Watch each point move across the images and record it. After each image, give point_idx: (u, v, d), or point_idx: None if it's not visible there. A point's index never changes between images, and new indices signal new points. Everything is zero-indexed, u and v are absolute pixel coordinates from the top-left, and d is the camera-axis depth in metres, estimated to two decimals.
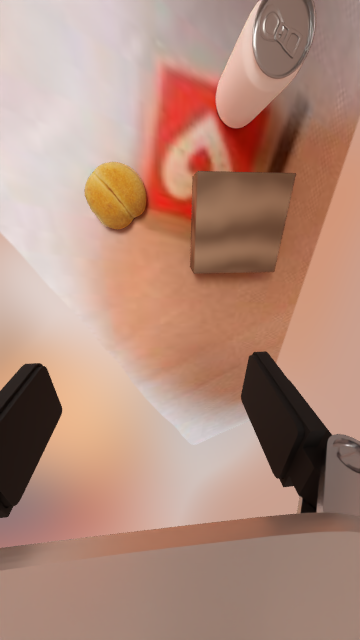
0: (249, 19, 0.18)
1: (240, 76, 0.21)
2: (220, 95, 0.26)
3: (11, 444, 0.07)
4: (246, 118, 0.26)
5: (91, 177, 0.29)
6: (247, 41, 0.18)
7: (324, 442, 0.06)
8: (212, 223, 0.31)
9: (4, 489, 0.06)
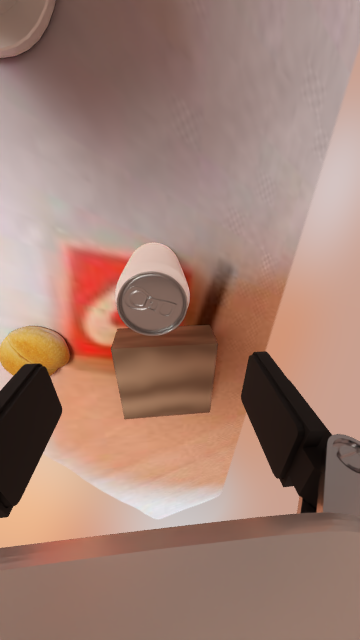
0: (117, 287, 0.17)
1: None
2: None
3: (11, 444, 0.07)
4: None
5: (3, 344, 0.28)
6: None
7: (324, 442, 0.06)
8: (136, 383, 0.29)
9: (4, 489, 0.06)
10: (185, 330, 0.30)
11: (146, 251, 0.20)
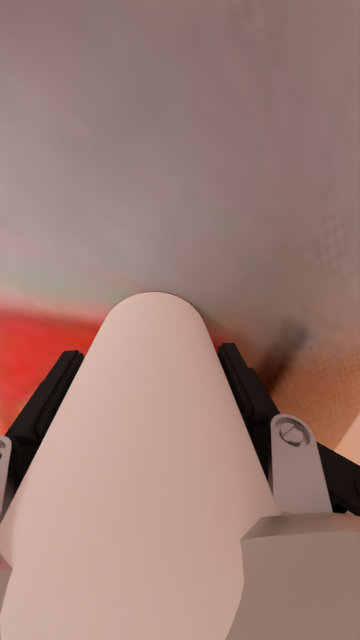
0: None
1: None
2: None
3: None
4: None
5: None
6: None
7: None
8: None
9: None
10: None
11: (127, 360, 0.06)
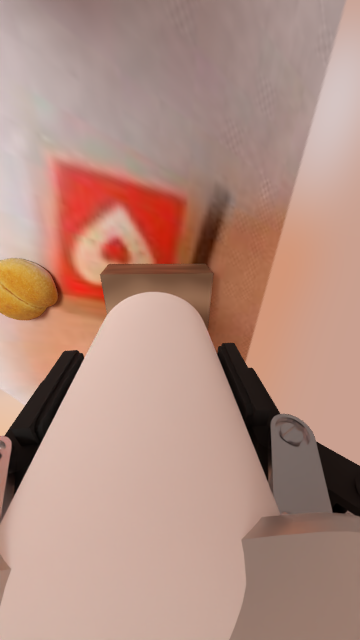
0: None
1: None
2: None
3: None
4: None
5: None
6: None
7: None
8: None
9: None
10: (179, 266, 0.29)
11: (127, 360, 0.06)
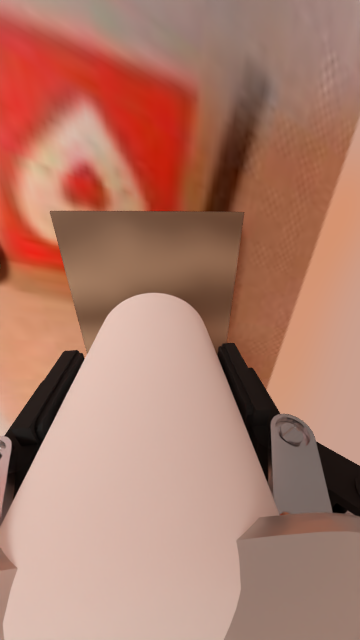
0: None
1: None
2: None
3: None
4: None
5: None
6: None
7: None
8: (103, 295, 0.17)
9: None
10: None
11: (127, 362, 0.06)
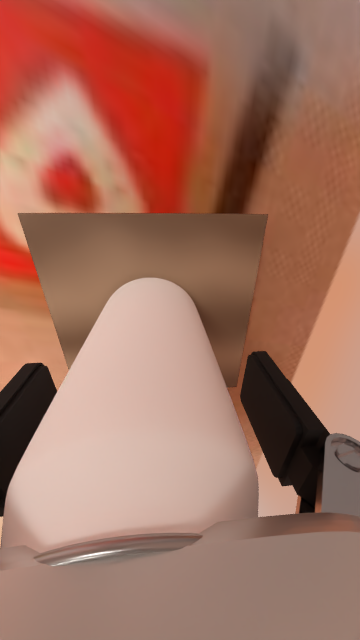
0: (4, 511, 0.04)
1: None
2: None
3: (13, 443, 0.07)
4: None
5: None
6: None
7: (322, 441, 0.06)
8: (90, 317, 0.14)
9: (6, 488, 0.06)
10: None
11: (126, 323, 0.08)
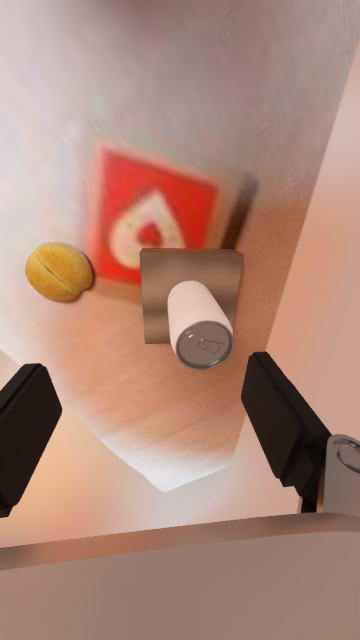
0: (174, 331, 0.20)
1: None
2: None
3: (11, 444, 0.07)
4: None
5: (31, 257, 0.29)
6: (174, 345, 0.20)
7: (324, 442, 0.06)
8: (160, 298, 0.30)
9: (4, 489, 0.06)
10: (209, 250, 0.31)
11: (191, 294, 0.23)
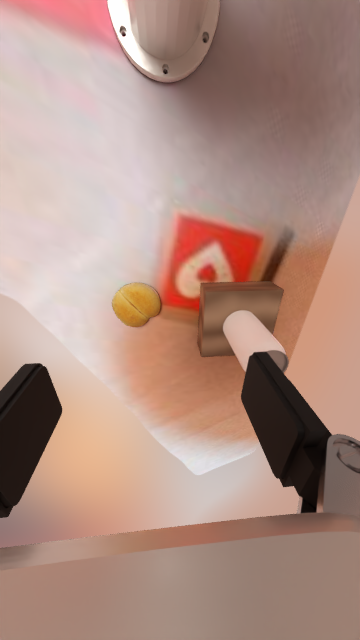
0: (246, 356, 0.28)
1: None
2: (226, 337, 0.36)
3: (11, 444, 0.07)
4: None
5: (118, 295, 0.37)
6: (245, 365, 0.29)
7: (324, 442, 0.06)
8: (217, 323, 0.38)
9: (4, 489, 0.06)
10: (253, 283, 0.39)
11: (251, 326, 0.32)
